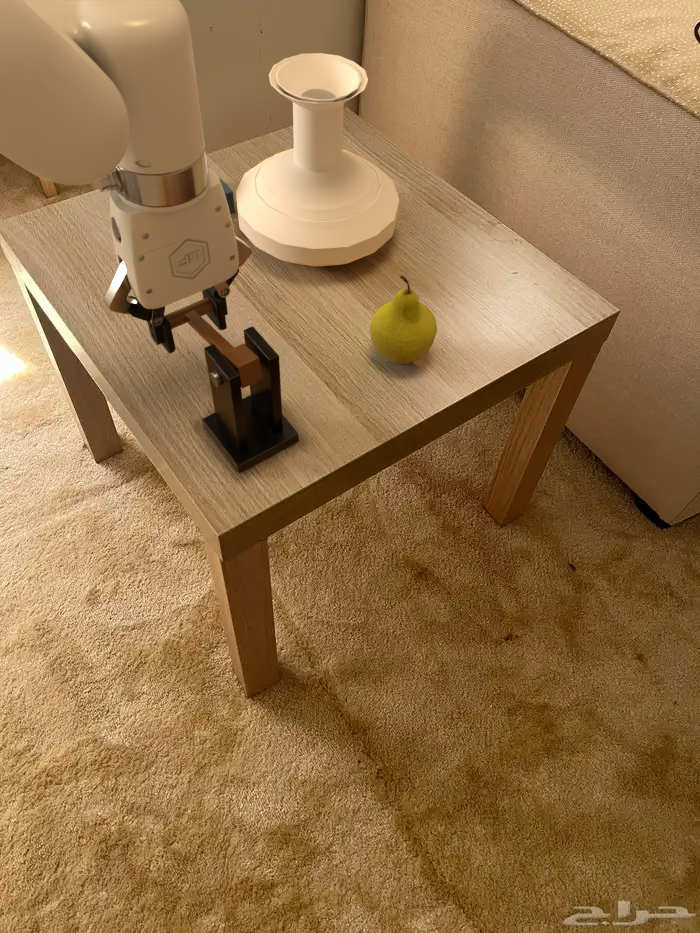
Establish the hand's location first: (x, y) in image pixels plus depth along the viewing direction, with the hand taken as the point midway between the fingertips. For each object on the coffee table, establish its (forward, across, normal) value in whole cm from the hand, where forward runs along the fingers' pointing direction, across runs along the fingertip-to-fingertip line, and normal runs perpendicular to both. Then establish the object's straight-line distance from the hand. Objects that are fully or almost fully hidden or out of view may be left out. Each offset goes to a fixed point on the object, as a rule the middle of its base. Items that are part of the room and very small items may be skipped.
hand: (191, 331), depth 71 cm
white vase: (+5, +24, +12) cm, 27 cm away
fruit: (+5, +20, -10) cm, 23 cm away
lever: (-2, 0, -6) cm, 6 cm away
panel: (+5, +11, +24) cm, 27 cm away
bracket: (+5, 0, -11) cm, 12 cm away
